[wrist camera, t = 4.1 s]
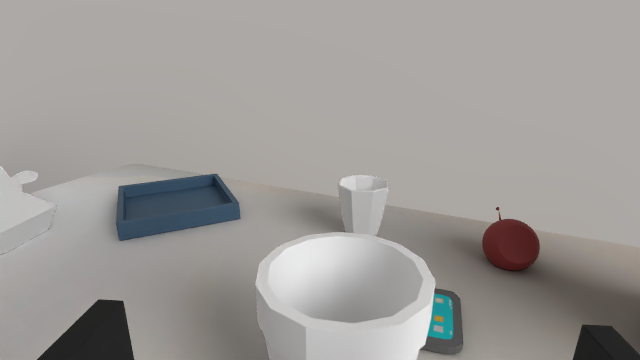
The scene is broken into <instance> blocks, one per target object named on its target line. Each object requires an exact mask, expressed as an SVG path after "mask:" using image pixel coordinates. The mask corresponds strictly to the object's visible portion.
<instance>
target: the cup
mask: <svg viewBox="0 0 640 360" xmlns="http://www.w3.org/2000/svg"><path fill="white" fill-rule="evenodd" d="M338 189H339V197H340V204H341V212H342V219H343V223H344V227H345V231H346V232H347V233H358V234H369V235H373V236H376V234H377V233H378V230H379V227H380V224H381V221H382V217H383V212H384V207H385V202H386V198H387V193H388V189H389V185H388V181H387V180H384V179H381V178H378V177H376V176H365V175H354V176H349V177H345V178H341V179H340V180H339V183H338Z"/></svg>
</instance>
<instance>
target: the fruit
mask: <svg viewBox="0 0 640 360" xmlns="http://www.w3.org/2000/svg"><path fill="white" fill-rule="evenodd" d="M496 210H499V207H497V208H496ZM482 246H483V250H484V253H485V255H486V257H487V258H488V259H489V261H490V262H491V263H492V264H494V265H495V266H497V267H499V268H502V269H505V270H511V271H518V270H522V269H525V268H527V267H529V266H530V265H531V264H533V263H534V261H535V260H536V258H537V257H538V254H539V249H540V245H539V240H538V237H537V235H536V233H535V232H534V231H533V229H531V227H529V226H528V225H527V224H525V223H523V222H521V221H518V220H514V219H504V220H501V217H500V214H499V221H497V222H495V223H493V224H492V225H491V226H489V227H488V229H487V230H486V231H485V233H484V236H483V240H482Z"/></svg>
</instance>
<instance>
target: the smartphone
mask: <svg viewBox="0 0 640 360" xmlns="http://www.w3.org/2000/svg"><path fill="white" fill-rule="evenodd" d="M462 346H463V332H462V318H461V305H460V298H459V297H458V296H457V295H456V294H455V293H453V292H451V291H447V290H441V289H434V298H433V307H432V315H431V321H430V325H429V330H428V334H427V338H426V343H425V345H424V346H423V347H422V348H421V349H424V350H428V351H433V352H438V353H443V354H457V353H459V352H460V351H461V350H462Z"/></svg>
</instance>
